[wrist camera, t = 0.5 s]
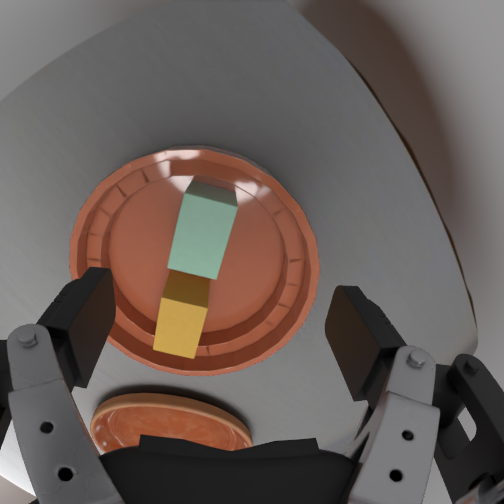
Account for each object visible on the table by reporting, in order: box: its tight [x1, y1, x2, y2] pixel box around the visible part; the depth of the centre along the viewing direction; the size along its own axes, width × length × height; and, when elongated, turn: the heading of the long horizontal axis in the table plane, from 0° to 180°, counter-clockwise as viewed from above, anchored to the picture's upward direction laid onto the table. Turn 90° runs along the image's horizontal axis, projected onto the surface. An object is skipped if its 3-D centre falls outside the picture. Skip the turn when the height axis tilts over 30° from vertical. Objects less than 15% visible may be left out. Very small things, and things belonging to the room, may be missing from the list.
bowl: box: [69, 145, 320, 376], centre depth 24 cm, size 19×19×4 cm
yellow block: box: [153, 270, 210, 359], centre depth 25 cm, size 6×4×4 cm, turn 162°
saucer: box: [90, 393, 253, 453], centre depth 35 cm, size 23×23×4 cm
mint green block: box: [167, 180, 238, 280], centre depth 22 cm, size 6×4×4 cm, turn 162°
